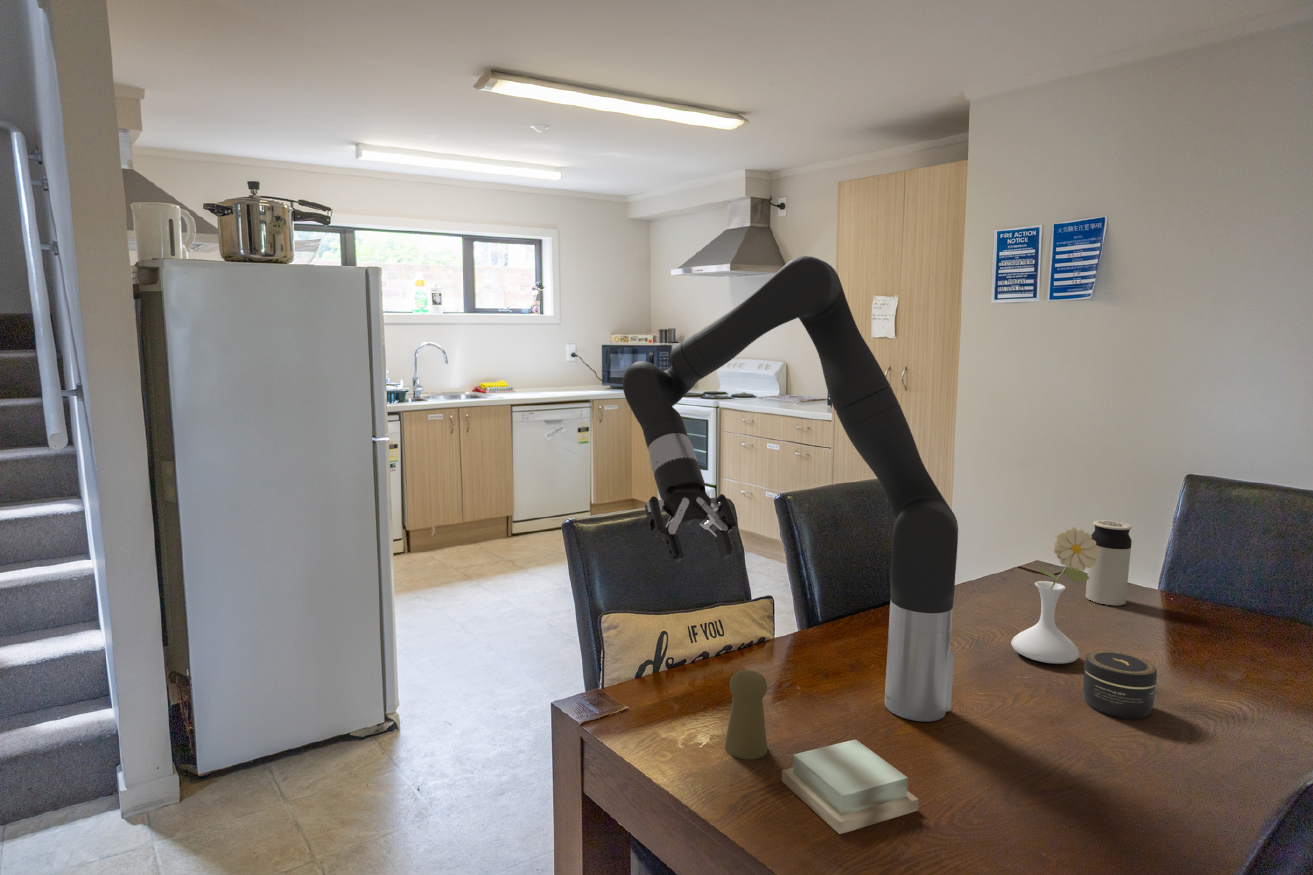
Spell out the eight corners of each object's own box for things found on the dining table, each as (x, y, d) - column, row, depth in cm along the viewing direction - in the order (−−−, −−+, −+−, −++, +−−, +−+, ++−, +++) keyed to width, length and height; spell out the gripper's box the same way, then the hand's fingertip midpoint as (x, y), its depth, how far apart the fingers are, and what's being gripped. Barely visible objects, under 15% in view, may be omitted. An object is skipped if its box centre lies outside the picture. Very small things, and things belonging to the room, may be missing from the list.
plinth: (855, 761, 106) (856, 734, 105) (918, 810, 95) (920, 780, 95) (781, 780, 101) (782, 752, 100) (839, 834, 90) (841, 802, 90)
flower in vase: (1011, 663, 140) (1022, 529, 137) (1009, 641, 151) (1018, 516, 148) (1093, 676, 135) (1106, 537, 132) (1084, 652, 146) (1096, 523, 143)
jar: (1092, 687, 131) (1096, 644, 130) (1160, 707, 124) (1165, 662, 123) (1072, 705, 124) (1076, 660, 123) (1143, 728, 117) (1148, 680, 116)
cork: (721, 737, 112) (723, 665, 110) (762, 736, 112) (765, 664, 111) (728, 759, 106) (731, 683, 104) (771, 758, 106) (775, 682, 105)
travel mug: (1093, 605, 173) (1100, 526, 171) (1080, 593, 181) (1086, 518, 179) (1131, 607, 172) (1139, 529, 170) (1116, 596, 180) (1123, 520, 177)
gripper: (645, 455, 120) (672, 550, 112) (722, 455, 126) (753, 544, 118) (627, 480, 125) (652, 572, 117) (702, 478, 132) (731, 565, 124)
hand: (703, 558), depth 118 cm, fingers open, 8 cm apart
